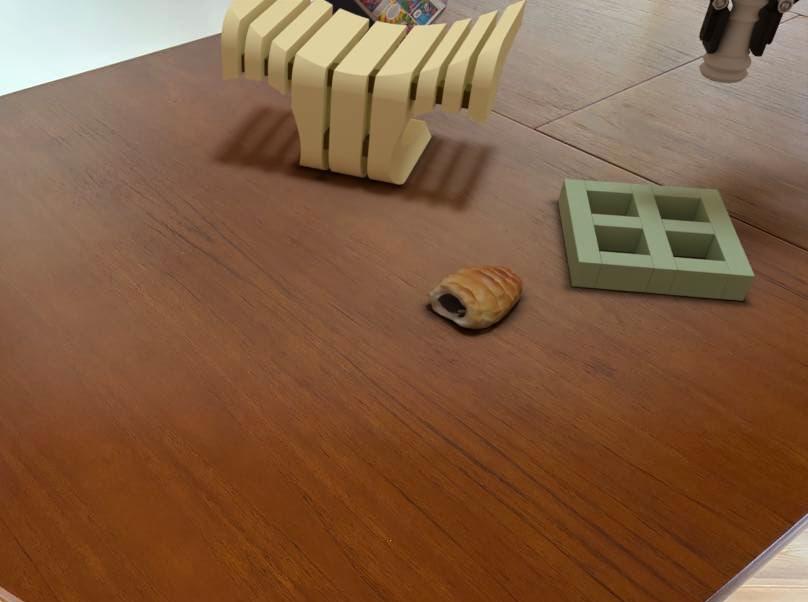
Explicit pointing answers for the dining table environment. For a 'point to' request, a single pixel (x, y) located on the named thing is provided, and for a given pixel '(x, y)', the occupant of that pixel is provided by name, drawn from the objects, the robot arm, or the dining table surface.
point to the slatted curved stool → (366, 77)
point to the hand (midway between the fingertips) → (731, 47)
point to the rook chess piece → (733, 44)
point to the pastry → (476, 295)
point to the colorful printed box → (394, 11)
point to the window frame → (652, 240)
